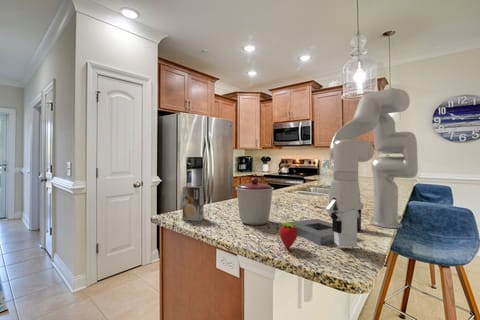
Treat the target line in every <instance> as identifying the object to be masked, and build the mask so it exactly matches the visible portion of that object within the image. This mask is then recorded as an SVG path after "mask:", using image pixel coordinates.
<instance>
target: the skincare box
mask: <svg viewBox="0 0 480 320" xmlns="http://www.w3.org/2000/svg"><path fill="white" fill-rule="evenodd" d="M337 210H338V209H337ZM336 215H338V213H336ZM340 221H341V222H342V232H341V233H340V234H339V233H336V232H334V242H335V243H334V244H335V245H337V246H338V247H345V248H348V247H358V231H357V210H356V209H352V210H349V212H344V213H342V216H341V219H340Z"/></svg>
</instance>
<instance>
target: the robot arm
mask: <svg viewBox="0 0 480 320" xmlns="http://www.w3.org/2000/svg"><path fill="white" fill-rule="evenodd" d="M410 101H411V100H410V96H409V93H408V91H406V90H404V89H401V88H388V89H382V90H376V91H371V92H368V93H365V94H363V95H362V96H361V98H360V99H359V102H358V104H357V107H356V109H355V112H354V115H353V118H352V119H351V120H349V121H348V122H346V123H345V124H344V125H342V126H341V127H340V128H339V129H338V130H337V131H336V132H335V133H334V135H333V137H332V140H331V143H330V145H329V152H328V153H329V158H330V159H331V160H332V161H333V167H332V168H333V169H332V171H333V172H332V173H333V175H332V176H333V178H332V179H333V180H332V181H331V183H330V188H329V194H328V205H327V207H326V208H325V210H326V212H327V214H328V215H329V217H330V219H331V220H332V222H331V223H332V231H334V232H336V233H339V234H340V233H341V232H342V222H341V221H340V219H341V216H342V213H344V212H349V210H352V209H356V210H357V230H358V218H359V217H360V213H361V214H362V211H363V208H364V204H363V203H362V202H361V189H360V183H359V182H360V181H359V163H363V162H368V161H370V160H371V159H372V158H373V156H374V155H375V152H376V153H378V154H380V155H382V154H385V155H386V154H387V155H388V154H390V155H391V154H399V155H400V154H402V155H403V156H379V157H378V156H377V157H375V158H374V159H373V160H372V162H371V170H372V176H373V177H372V179H373V218H372V219H370V220H369V223H370V224H371V225H373V226H376V227H379V228H380V227H381V228H387V229H400V228H403V224H402V223H401V222H399V221H400V220H402V219H403V216H402V215H400V214H399V211H398V210H399V187H398V185H397V184H396V182H395V181H394V180H393V179H394V178H395V179H396V178H398V179H413V178H416V176H417V174H418V170H419V163H418V161H419V160H418V142H417V137H416V135H415V133H413V132H412V131H396V121H395V119H394V118H393V117H392V116H391V115H390V114H393V113H394V114H395V113H401V112H405V111H407V110H408V109H409V106H410ZM372 131H373V144H372V143H371V142H370V141H368V140H364V139H363V140H355V138H357V137H359V136H362V135H366V134H367V133H369V132H372ZM337 209H338V210H337ZM336 213H338V215H336Z"/></svg>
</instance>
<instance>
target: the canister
mask: <svg viewBox="0 0 480 320" xmlns="http://www.w3.org/2000/svg"><path fill="white" fill-rule="evenodd" d="M274 189H275V188H274V187H273V186H271V185H270V184H267V183H259V179H258V178H257V177H253V178H251V180H250V182H249V183H241V184H238V185H237V186H235V190H236V194H237V196H236V197H237V205H238V207H237V208H238V213H239V219H240V221H241V223H243V224H246V225H251V226H258V225H259V226H261V225H264V224H266V223H268V222H269V219H270V214H271V207H272V197H273V190H274Z"/></svg>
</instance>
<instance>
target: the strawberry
mask: <svg viewBox="0 0 480 320" xmlns="http://www.w3.org/2000/svg"><path fill="white" fill-rule="evenodd" d="M287 222H291V219H289V220H288V221H287ZM287 222H285V223H284V222H283V223H281V224H280V225H281V227H280V228H279V231H278V233H279V236H280V240H281V242H282V244H283V245H284V247H285V248H286V250H289V249H290V248H291V247H292V246H293V244H294V243H295V241H296V240H297V237H298V235H297V234H298V233H297V229H296V228H295V227H294V226H297V225H294V224H292V223H287Z"/></svg>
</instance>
